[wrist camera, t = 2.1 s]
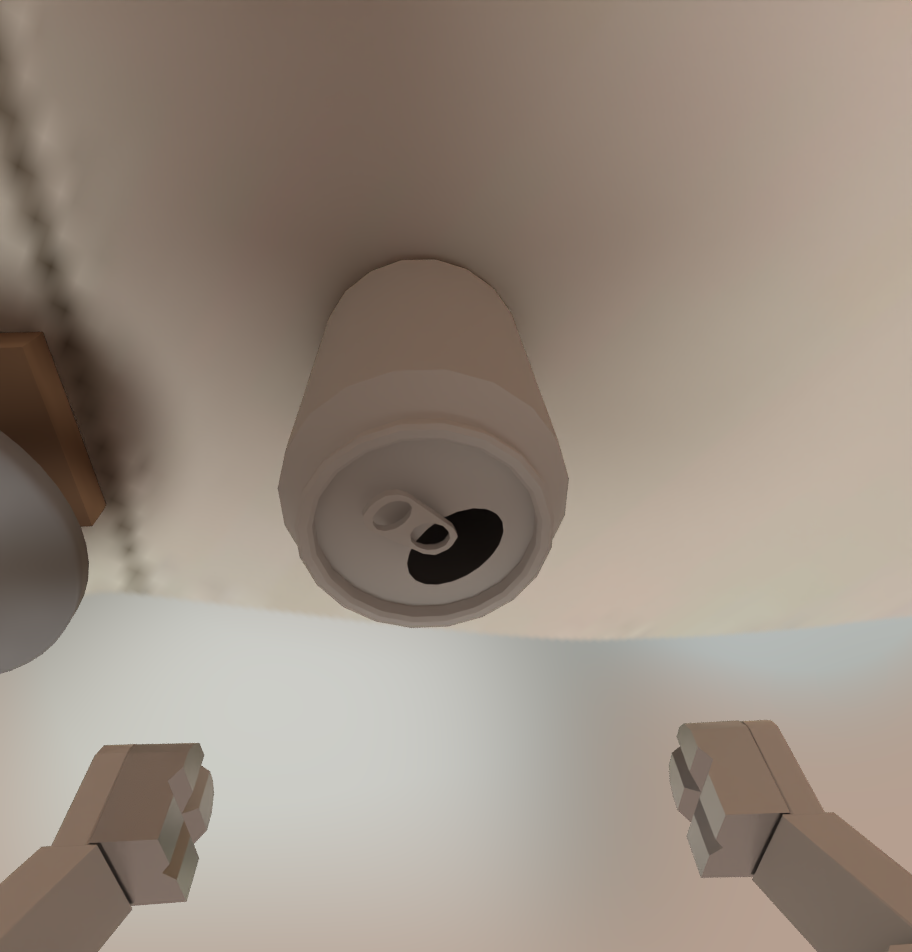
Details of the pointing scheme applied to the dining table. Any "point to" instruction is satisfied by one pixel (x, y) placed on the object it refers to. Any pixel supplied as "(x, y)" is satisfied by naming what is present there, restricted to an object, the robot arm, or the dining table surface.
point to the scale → (39, 502)
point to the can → (422, 452)
